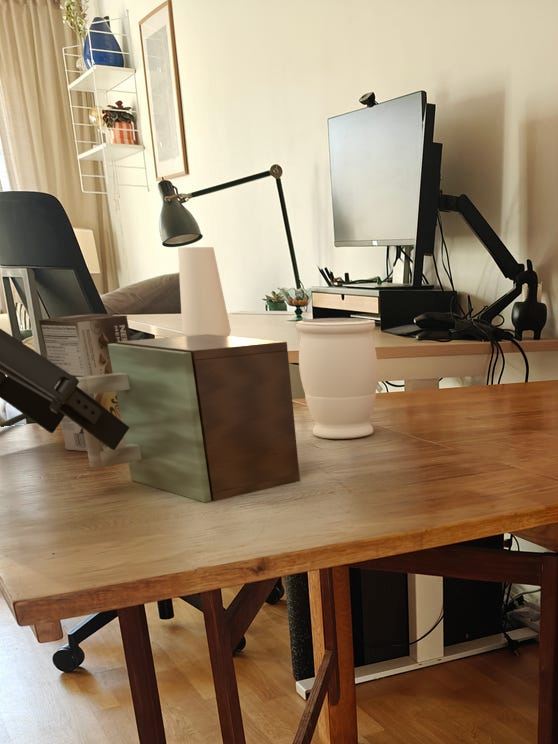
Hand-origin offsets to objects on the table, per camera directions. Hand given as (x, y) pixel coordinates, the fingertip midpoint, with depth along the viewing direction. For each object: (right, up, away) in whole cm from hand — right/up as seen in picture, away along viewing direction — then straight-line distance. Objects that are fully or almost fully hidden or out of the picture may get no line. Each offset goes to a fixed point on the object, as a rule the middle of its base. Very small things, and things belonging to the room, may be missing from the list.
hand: (88, 430), depth 89 cm
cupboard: (+11, -4, +8) cm, 14 cm away
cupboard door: (+5, -6, +2) cm, 9 cm away
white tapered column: (+1, +11, +41) cm, 43 cm away
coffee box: (-9, +4, +27) cm, 29 cm away
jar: (+21, +7, +32) cm, 39 cm away
